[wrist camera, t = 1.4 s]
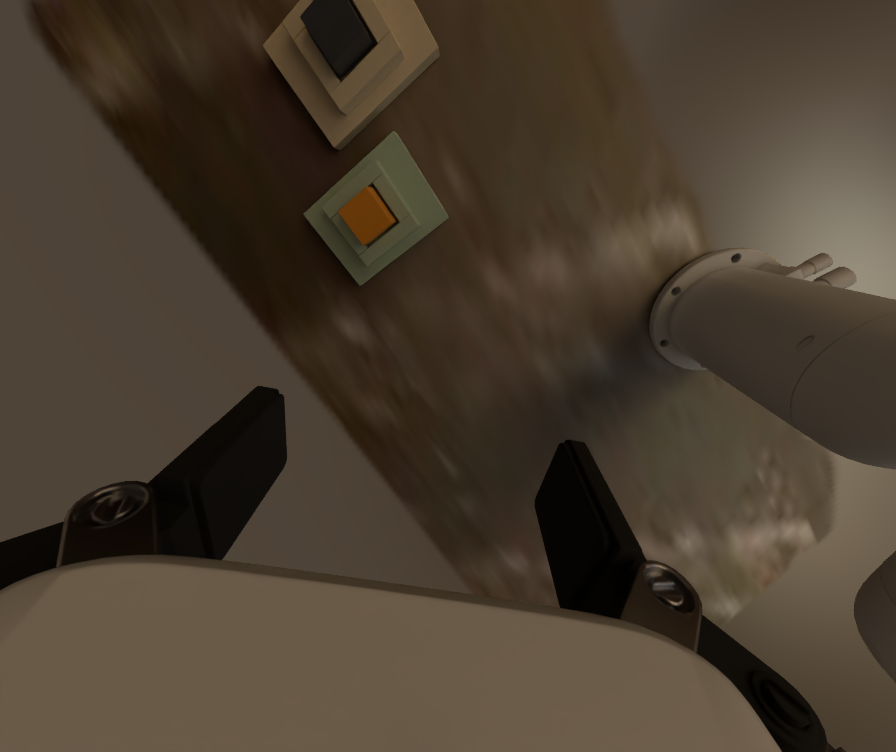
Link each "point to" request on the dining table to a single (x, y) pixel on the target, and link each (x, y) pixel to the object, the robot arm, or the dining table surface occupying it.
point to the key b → (367, 215)
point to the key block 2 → (401, 195)
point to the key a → (337, 32)
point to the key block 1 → (370, 80)
